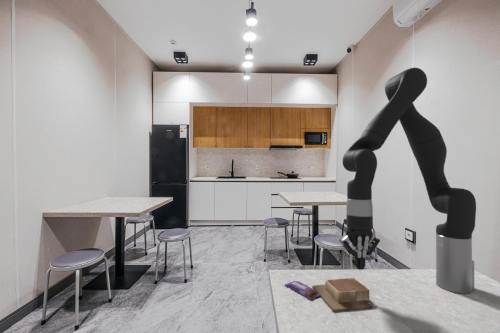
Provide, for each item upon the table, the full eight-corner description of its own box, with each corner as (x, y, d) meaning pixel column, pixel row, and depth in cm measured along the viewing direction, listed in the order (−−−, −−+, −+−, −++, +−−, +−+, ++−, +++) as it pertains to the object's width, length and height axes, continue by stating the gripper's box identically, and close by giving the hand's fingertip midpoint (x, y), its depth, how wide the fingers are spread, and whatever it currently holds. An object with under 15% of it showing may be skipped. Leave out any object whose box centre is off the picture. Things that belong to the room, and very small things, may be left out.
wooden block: (353, 277, 80) (325, 279, 79) (369, 289, 72) (337, 292, 71) (353, 287, 80) (325, 289, 79) (369, 299, 72) (338, 302, 71)
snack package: (284, 281, 82) (294, 278, 85) (284, 287, 82) (294, 283, 85) (310, 296, 73) (321, 291, 76) (310, 303, 73) (321, 298, 76)
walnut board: (345, 284, 83) (345, 283, 83) (372, 308, 69) (372, 305, 69) (312, 287, 81) (312, 285, 81) (333, 311, 67) (333, 309, 67)
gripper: (370, 210, 81) (371, 262, 81) (333, 211, 79) (334, 265, 79) (386, 214, 74) (387, 272, 74) (346, 216, 72) (346, 275, 72)
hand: (359, 268), depth 76 cm, fingers closed
